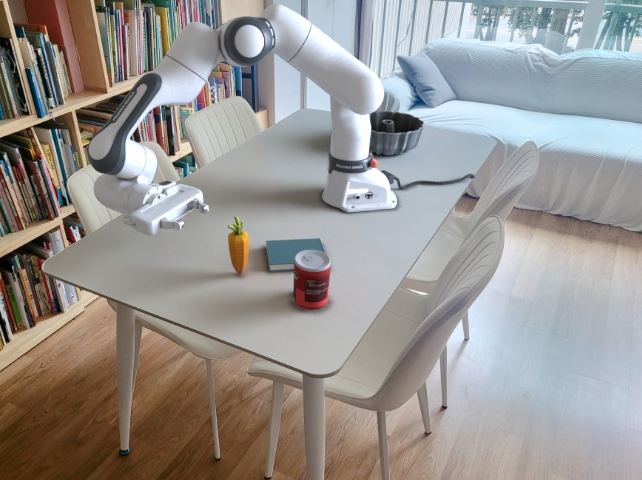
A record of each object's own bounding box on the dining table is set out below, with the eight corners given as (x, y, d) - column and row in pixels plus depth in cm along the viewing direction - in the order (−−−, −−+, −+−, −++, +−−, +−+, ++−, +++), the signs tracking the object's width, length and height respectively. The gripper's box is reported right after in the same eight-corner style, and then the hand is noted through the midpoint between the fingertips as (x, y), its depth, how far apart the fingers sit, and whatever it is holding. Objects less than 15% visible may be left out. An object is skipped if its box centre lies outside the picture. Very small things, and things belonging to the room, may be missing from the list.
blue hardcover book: (319, 245, 136) (320, 238, 135) (327, 268, 127) (327, 261, 126) (266, 247, 135) (266, 240, 133) (269, 271, 126) (269, 264, 124)
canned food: (304, 285, 121) (306, 245, 115) (334, 298, 117) (338, 257, 111) (286, 302, 116) (286, 260, 110) (316, 315, 112) (318, 273, 106)
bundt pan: (334, 145, 195) (336, 119, 190) (379, 130, 210) (382, 105, 204) (390, 167, 180) (394, 139, 174) (434, 149, 194) (439, 122, 189)
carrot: (247, 281, 122) (245, 225, 114) (226, 279, 123) (223, 223, 114) (252, 270, 126) (251, 215, 118) (232, 267, 127) (230, 212, 118)
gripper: (116, 208, 118) (163, 224, 113) (174, 177, 133) (219, 189, 128) (121, 232, 122) (167, 248, 117) (177, 199, 137) (220, 212, 131)
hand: (194, 217), depth 122 cm, fingers open, 8 cm apart
